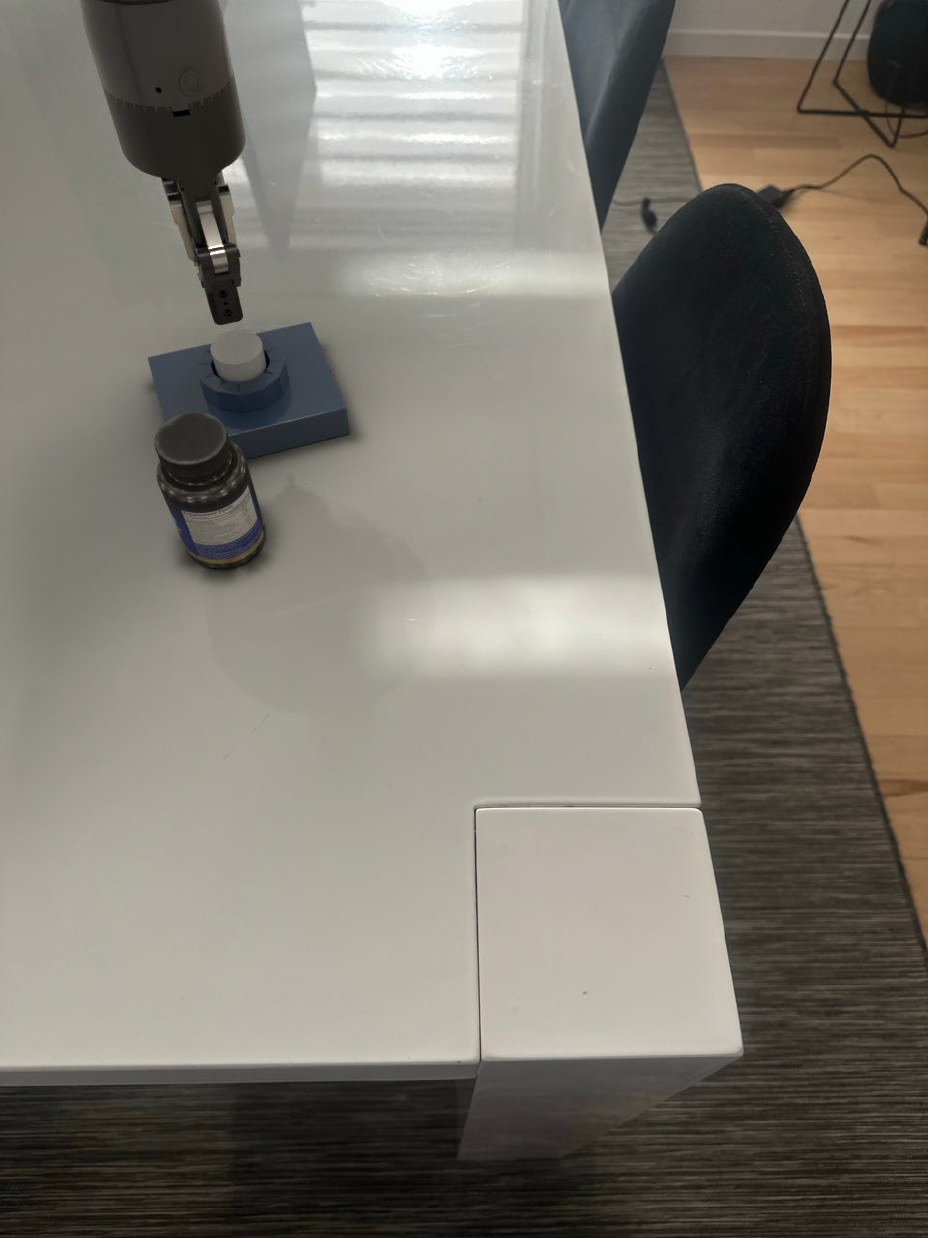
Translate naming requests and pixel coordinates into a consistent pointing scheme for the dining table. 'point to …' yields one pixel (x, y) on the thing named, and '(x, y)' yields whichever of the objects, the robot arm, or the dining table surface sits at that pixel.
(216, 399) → the blue push button box
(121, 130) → the robot arm
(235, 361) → the white push button
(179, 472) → the pill bottle
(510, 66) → the dining table surface
